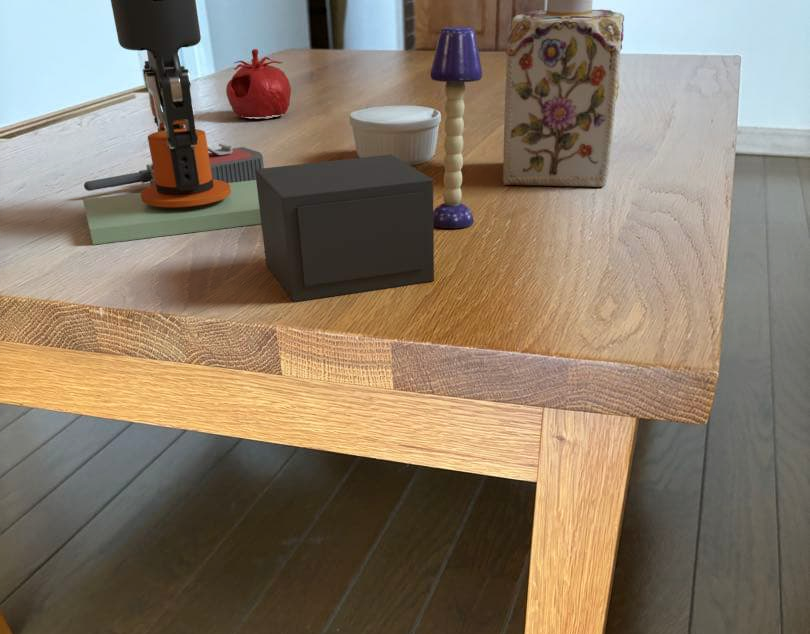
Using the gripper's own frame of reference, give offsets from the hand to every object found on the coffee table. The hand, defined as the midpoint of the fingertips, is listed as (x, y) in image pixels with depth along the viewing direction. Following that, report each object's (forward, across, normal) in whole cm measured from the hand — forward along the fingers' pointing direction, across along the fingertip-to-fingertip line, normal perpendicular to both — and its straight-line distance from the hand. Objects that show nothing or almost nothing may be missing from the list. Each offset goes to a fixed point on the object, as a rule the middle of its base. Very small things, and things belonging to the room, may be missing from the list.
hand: (183, 181), depth 89 cm
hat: (+1, 0, 0) cm, 1 cm away
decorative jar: (+4, +1, +42) cm, 42 cm away
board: (+3, 0, 0) cm, 3 cm away
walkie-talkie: (+4, -12, +1) cm, 13 cm away
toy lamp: (+4, +14, +24) cm, 28 cm away
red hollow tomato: (+4, -53, +19) cm, 56 cm away
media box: (+3, +24, +10) cm, 26 cm away
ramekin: (+4, -15, +28) cm, 32 cm away
